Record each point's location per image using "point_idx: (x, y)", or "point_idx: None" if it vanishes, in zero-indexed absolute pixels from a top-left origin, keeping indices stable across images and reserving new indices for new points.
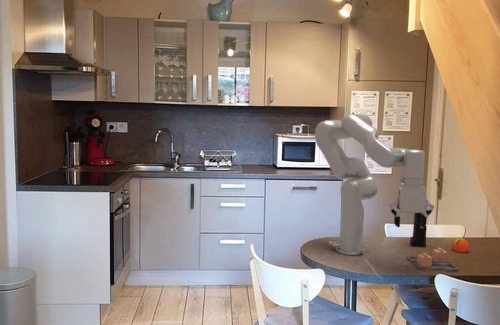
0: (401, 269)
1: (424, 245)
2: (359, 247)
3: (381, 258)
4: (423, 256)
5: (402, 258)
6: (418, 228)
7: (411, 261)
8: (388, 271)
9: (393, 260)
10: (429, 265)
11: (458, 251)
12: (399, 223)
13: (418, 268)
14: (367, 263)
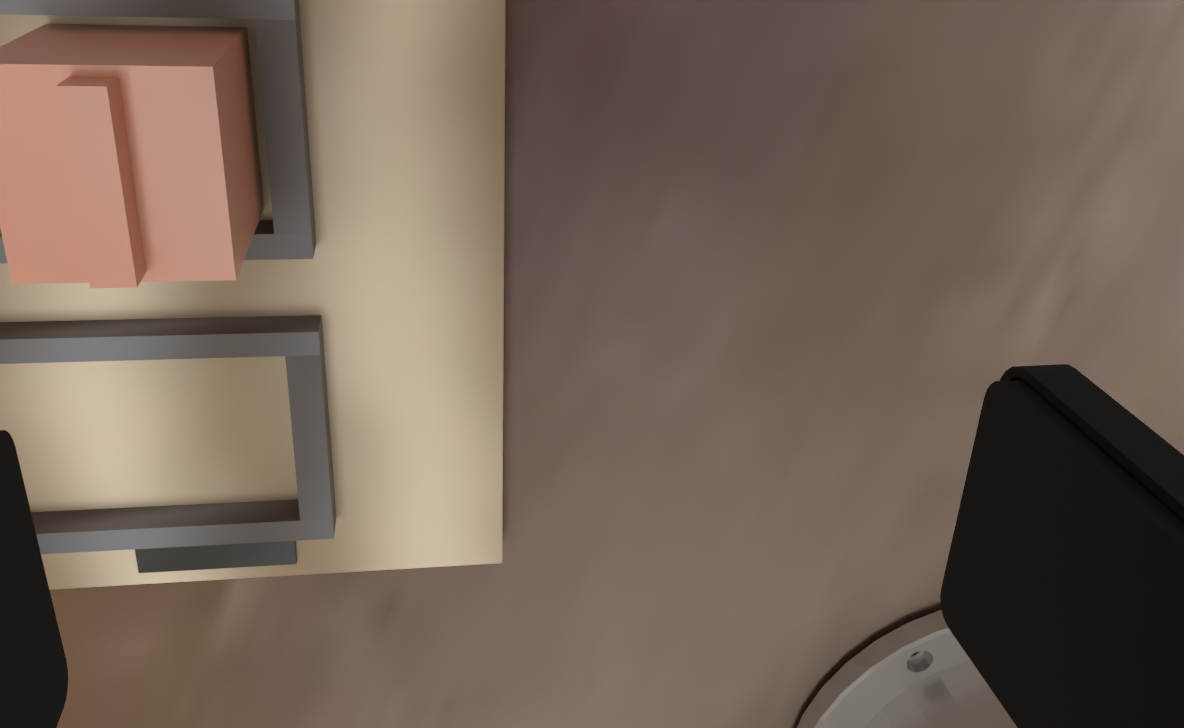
0: (537, 134)
1: None
2: (936, 724)
3: (664, 557)
4: (151, 143)
5: (358, 602)
6: None
7: (320, 339)
8: (782, 20)
9: (521, 506)
10: (67, 36)
11: None
12: (1100, 426)
13: (296, 5)
14: (944, 338)
